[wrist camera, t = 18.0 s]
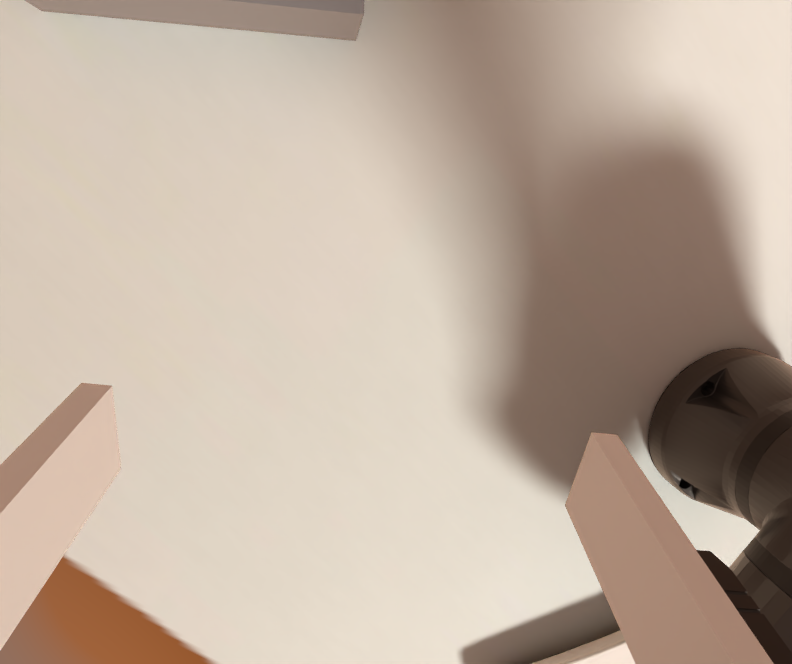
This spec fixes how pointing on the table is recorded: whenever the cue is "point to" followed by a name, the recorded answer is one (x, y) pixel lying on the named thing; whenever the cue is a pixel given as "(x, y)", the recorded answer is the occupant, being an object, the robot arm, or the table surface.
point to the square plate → (595, 652)
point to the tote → (230, 14)
